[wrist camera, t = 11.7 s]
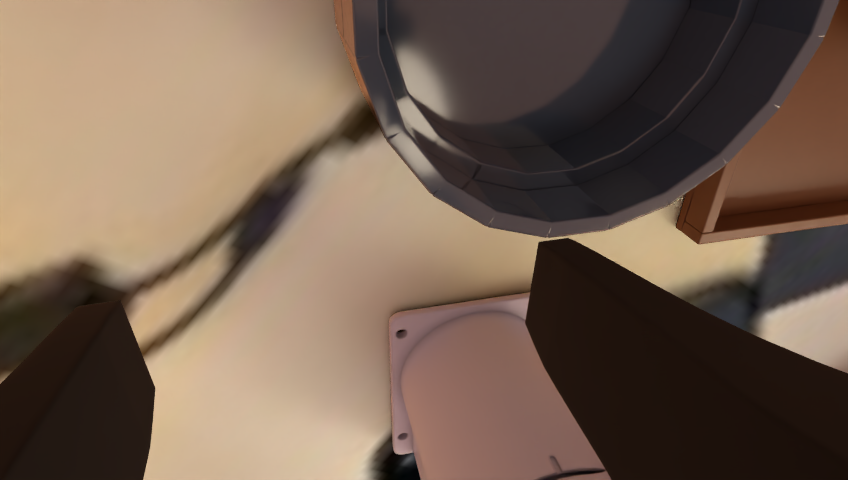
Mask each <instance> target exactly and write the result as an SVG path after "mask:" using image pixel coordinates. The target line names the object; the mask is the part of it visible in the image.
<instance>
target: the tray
mask: <svg viewBox="0 0 848 480" xmlns="http://www.w3.org/2000/svg"><path fill="white" fill-rule="evenodd" d="M823 38H824V40H823V42H822V43H821V45H820V46H819V48H818V49H817V51H816V53H815V54H814V56H813V57H812V59H811V60H810V62H809V64H808V65H807V67H806V68H805V70H804V71H803V73H802V75H801V76H800V78H799V79H798V81H797V82H796V84H795V86H794V87H793V89H792V90H791V92H790V93H789V95H788V96H787V98H786V100H785V101H784V103H783V104H782V106H781V107H780V108H779V109H778V111H777V112H776V113H775V114H774V115H773V116H772V117H771V118H770V119H769V121H768V122H767V123H766V124H765V125H764V126H763V127H762V128H761V129H760V130H759V131H758V132H757V133H756V134H755V135H754V136H753V137H752V139H751V140H750V141H749V142H748V143H747V144H746V145H745V146H744V147H743V148H742V149H741V150H740V151H739V152H738V153H737V154H736V155H735V156H734V158H733V159H732V160H731V161H730V162H729V163H728V164H726V165H725V166H724V167H723V168H721V169H720V170H718V171H717V172H716V173H714V174H713V175H711V176H710V177H708V178H707V179H706V180H704V181H703V182H701V183H700V184H699V185H697V186H696V187H694V188H693V189H691V190H690V191H689V192H687V193H686V196H685V199H684V202H683V206H682V209H681V212H680V215H679V219H678V222H677V225H676V228H677V229H679V230H680V231H682V232H683V233H684V234H685V235H687V236H688V237H689V238H691V239H692V240H693V241H694V242H696V243H697V244H705V243H712V242H719V241H726V240H733V239H741V238H748V237H755V236H762V235H769V234H776V233H784V232H791V231H798V230H805V229H812V228H819V227H827V226H834V225H841V224H848V0H840V1H839V3H838V6H837V8H836V11H835V13H834V16H833V18H832V21H831V24H830V26H829V29H828V31H827V34H826V36H825V37H823Z"/></svg>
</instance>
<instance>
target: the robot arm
mask: <svg viewBox="0 0 848 480" xmlns="http://www.w3.org/2000/svg"><path fill="white" fill-rule="evenodd" d="M399 330H404V331H403V332H400V333H397V332H398V331H399ZM389 346H390V378H391V410H392V442H393V449H394V452H395V453H396V454H407V453H412V452H414V455H415V459H416V462H417V466H418V470H419V474H420V478H421V480H848V373H845V372H842V371H840V370H837V369H834V368H832V367H829V366H827V365H824V364H821V363H819V362H816V361H814V360H811V359H809V358H807V357H804V356H802V355H799V354H797V353H795V352H792V351H790V350H788V349H785V348H783V347H780V346H778V345H776V344H773V343H771V342H769V341H766V340H764V339H762V338H759V337H757V336H755V335H753V334H751V333H748V332H746V331H744V330H742V329H740V328H738V327H736V326H734V325H732V324H730V323H728V322H726V321H724V320H722V319H719V318H717V317H715V316H713V315H711V314H709V313H707V312H705V311H703V310H701V309H699V308H697V307H695V306H694V305H692V304H690V303H688V302H686V301H684V300H682V299H680V298H678V297H676V296H675V295H673V294H671V293H669V292H667V291H665V290H663V289H662V288H660V287H658V286H656V285H654V284H652V283H651V282H649V281H647V280H645V279H643V278H642V277H640V276H638V275H636V274H635V273H633V272H631V271H629V270H627V269H626V268H624V267H622V266H620V265H618V264H617V263H615V262H613V261H611V260H610V259H608V258H606V257H604V256H602V255H600V254H599V253H597V252H595V251H593V250H591V249H589V248H588V247H586V246H584V245H582V244H580V243H578V242H576V241H573V240H571V239H569V238H565V239H557V240H550V241H543V242H539V243H538V249H537V255H536V261H535V267H534V273H533V279H532V284H531V290H530V292H528V293H521V294H514V295H508V296H501V297H494V298H488V299H481V300H474V301H468V302H461V303H454V304H448V305H441V306H434V307H428V308H421V309H414V310H408V311H401V312H397V313H395V314H393V315H392V316H391V317H390V319H389ZM154 397H155V386H154V384H153V381H152V379H151V376H150V374H149V371H148V369H147V366H146V364H145V361H144V359H143V356H142V353H141V351H140V348H139V346H138V343H137V341H136V338H135V336H134V333H133V331H132V328H131V326H130V323H129V321H128V318H127V315H126V313H125V310H124V308H123V305H122V303H121V300H119V301H112V302H105V303H98V304H91V305H83V306H78V307H76V308H75V309H74V310H73V311H72V312H71V313H70V314H69V315H68V316H67V317H66V318H65V319H64V320H63V321H62V322H61V323H60V324H59V325H58V326H57V327H56V328H55V329H54V330H53V331H52V332H51V333H50V334H49V335H48V336H47V337H46V338H45V339H44V340H43V341H42V342H41V343H40V344H39V345H38V346H37V347H36V348H35V349H34V350H33V352H32V353H31V354H30V355H29V356H28V357H27V358H26V359H25V360H24V361H23V362H22V363H21V364H20V365H19V366H18V367H17V368H16V369H15V370H14V371H13V372H12V373H11V374H10V375H9V376H8V377H7V378H6V379H5V380H4V381H3V382H2V383H1V384H0V480H143V477H144V473H145V468H146V464H147V459H148V454H149V449H150V442H151V433H152V423H153V411H154Z"/></svg>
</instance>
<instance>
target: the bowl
mask: <svg viewBox="0 0 848 480" xmlns="http://www.w3.org/2000/svg"><path fill="white" fill-rule="evenodd" d="M839 1H840V0H334V10H335V23H336V25H337V30H338V33H339V35H340V38H341V40H342V43H343V46H344V48H345V51H346V54H347V56H348V59H349V61H350V64H351V67H352V69H353V72H354V74H355V77H356V80H357V82H358V85H359V87H360V90H361V92H362V94H363V96H364V98H365V100H366V102H367V104H368V106H369V108H370V110H371V112H372V114H373V116H374V118H375V120H376V122H377V124H378V125H379V127H380V129H381V131H382V133H383V135H384V137H385V139H386V141H387V142H388V143H389V144H390V146H391V147H392V148H393V149H394V150H395V152H396V153H397V154H398V155H399V156H400V158H401V159H402V160H403V161H404V162H405V164H406V165H407V166H408V167H409V168H410V170H411V171H412V172H413V173H414V175H415V176H416V177H417V178H418V179H419V181H420V182H421V183H422V184H423V185H424V187H425V188H426V189H427V190H428V191H429V193H431V194H432V195H433V196H434V197H436V198H438V199H439V200H441V201H443V202H445V203H446V204H448V205H450V206H452V207H453V208H455V209H457V210H459V211H460V212H462V213H464V214H465V215H467V216H469V217H471V218H472V219H474V220H476V221H478V222H479V223H481V224H483V225H485V226H488V227H490V228H496V229H501V230H507V231H512V232H518V233H523V234H529V235H534V236H540V237H545V238H546V237H549V238H550V237H558V236H566V235H574V234H582V233H590V232H598V231H605V230H608V229H612V228H615V227H617V226H620V225H622V224H625V223H627V222H629V221H632V220H634V219H637V218H639V217H642V216H644V215H647V214H649V213H651V212H654V211H656V210H659V209H661V208H664V207H666V206H668V204H672V203H673V202H674V201H676V200H677V199H679V198H680V197H681V196H683V195H684V194H686V193H687V192H689V191H690V190H691V189H693V188H694V187H696V186H697V185H699V184H700V183H701V182H703V181H704V180H706V179H707V178H708V177H710V176H711V175H713V174H714V173H716V172H717V171H718V170H720V169H721V168H723V167H724V166H725V165H726V164H728V163H729V162H730V161H731V160H732V159H733V158H734V156H735V155H736V154H737V153H738V152H739V151H740V150H741V149H742V148H743V147H744V146H745V145H746V144H747V143H748V142H749V141H750V140H751V139H752V137H753V136H754V135H755V134H756V133H757V132H758V131H759V130H760V129H761V128H762V127H763V126H764V125H765V124H766V123H767V122H768V121H769V119H770V118H771V117H772V116H773V115H774V114H775V113H776V112H777V111H778V109H779V108H780V107H781V106H782V104H783V103H784V101H785V100H786V98H787V96H788V95H789V93H790V92H791V90H792V89H793V87H794V86H795V84H796V82H797V81H798V79H799V78H800V76H801V75H802V73H803V71H804V70H805V68H806V67H807V65H808V64H809V62H810V60H811V59H812V57H813V56H814V54H815V53H816V51H817V49H818V48H819V46H820V45H821V43H822V42H823V40H824V38H823V37H825V36H826V34H827V31H828V29H829V26H830V24H831V21H832V18H833V16H834V13H835V11H836V8H837V6H838V3H839Z"/></svg>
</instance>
